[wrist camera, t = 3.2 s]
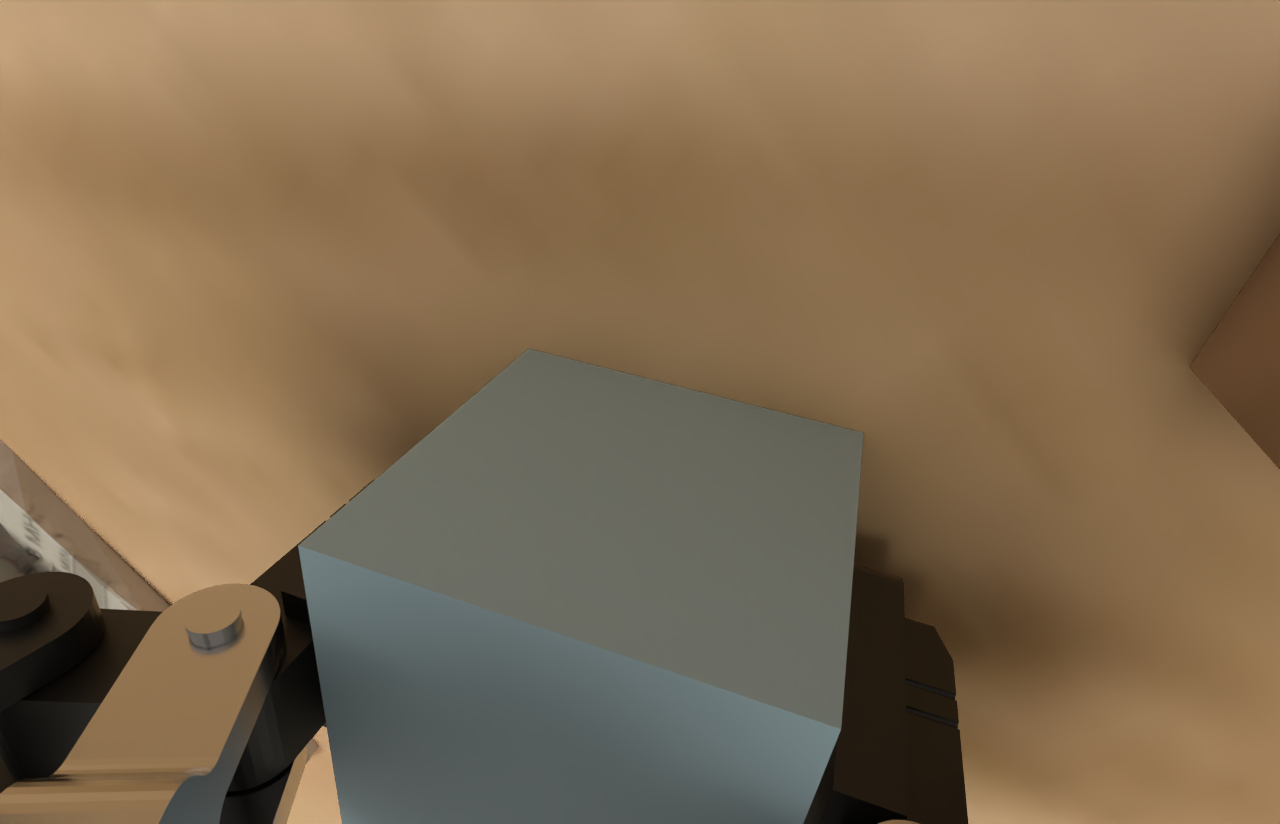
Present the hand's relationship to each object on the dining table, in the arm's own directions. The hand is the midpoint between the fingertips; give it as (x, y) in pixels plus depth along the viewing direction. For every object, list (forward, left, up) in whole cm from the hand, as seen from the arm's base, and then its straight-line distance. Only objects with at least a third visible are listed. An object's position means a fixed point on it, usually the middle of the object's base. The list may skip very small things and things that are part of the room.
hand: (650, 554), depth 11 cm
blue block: (0, 0, -1) cm, 1 cm away
